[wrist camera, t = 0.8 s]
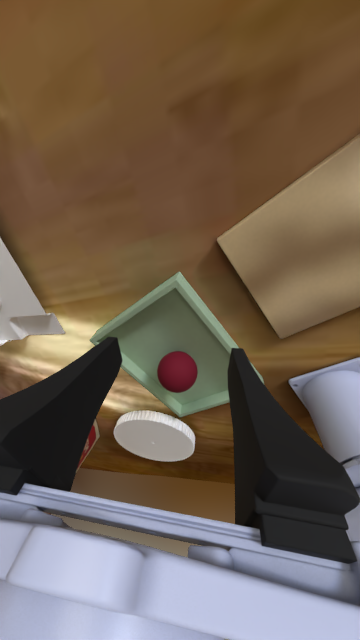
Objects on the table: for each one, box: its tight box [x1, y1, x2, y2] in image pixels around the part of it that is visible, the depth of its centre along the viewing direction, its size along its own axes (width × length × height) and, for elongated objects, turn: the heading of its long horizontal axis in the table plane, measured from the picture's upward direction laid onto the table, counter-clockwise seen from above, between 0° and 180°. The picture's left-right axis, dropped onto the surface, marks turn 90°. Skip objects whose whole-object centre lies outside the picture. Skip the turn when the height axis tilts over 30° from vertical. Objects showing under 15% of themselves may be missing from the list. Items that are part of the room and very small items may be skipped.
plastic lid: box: [114, 410, 195, 462], centre depth 35 cm, size 14×14×2 cm
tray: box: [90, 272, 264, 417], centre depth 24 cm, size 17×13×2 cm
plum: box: [157, 351, 198, 393], centre depth 23 cm, size 5×5×5 cm
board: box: [217, 134, 360, 339], centre depth 16 cm, size 12×12×1 cm
